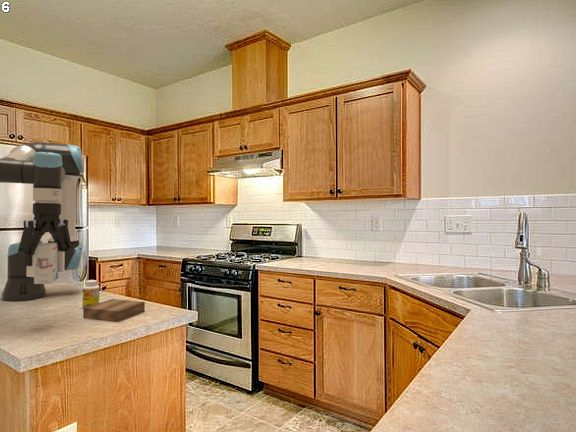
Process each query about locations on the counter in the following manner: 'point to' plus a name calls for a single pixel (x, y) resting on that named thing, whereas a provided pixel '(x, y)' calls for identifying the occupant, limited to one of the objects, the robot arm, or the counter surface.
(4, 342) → the counter surface
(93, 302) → the supplement bottle
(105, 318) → the walnut slab
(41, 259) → the ink box
